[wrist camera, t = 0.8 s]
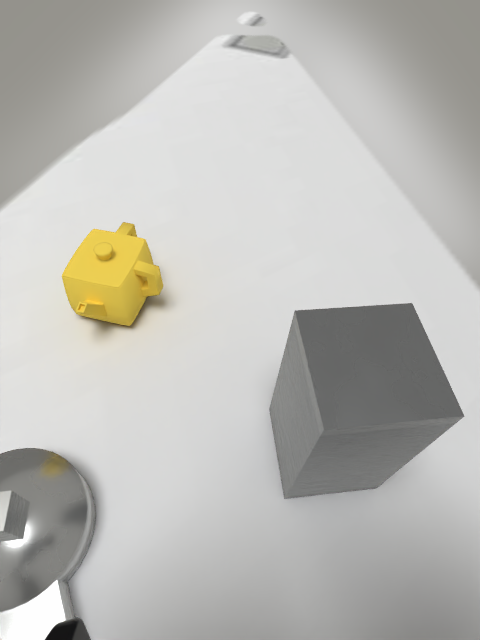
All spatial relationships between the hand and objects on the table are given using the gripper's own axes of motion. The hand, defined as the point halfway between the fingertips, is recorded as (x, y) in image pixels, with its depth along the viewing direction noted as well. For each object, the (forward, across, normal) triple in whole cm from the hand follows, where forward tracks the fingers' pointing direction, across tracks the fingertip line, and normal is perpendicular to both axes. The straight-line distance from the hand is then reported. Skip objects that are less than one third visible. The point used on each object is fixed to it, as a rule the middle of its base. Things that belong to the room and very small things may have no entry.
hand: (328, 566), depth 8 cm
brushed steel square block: (+14, -4, +8) cm, 17 cm away
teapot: (+24, +7, 0) cm, 25 cm away
